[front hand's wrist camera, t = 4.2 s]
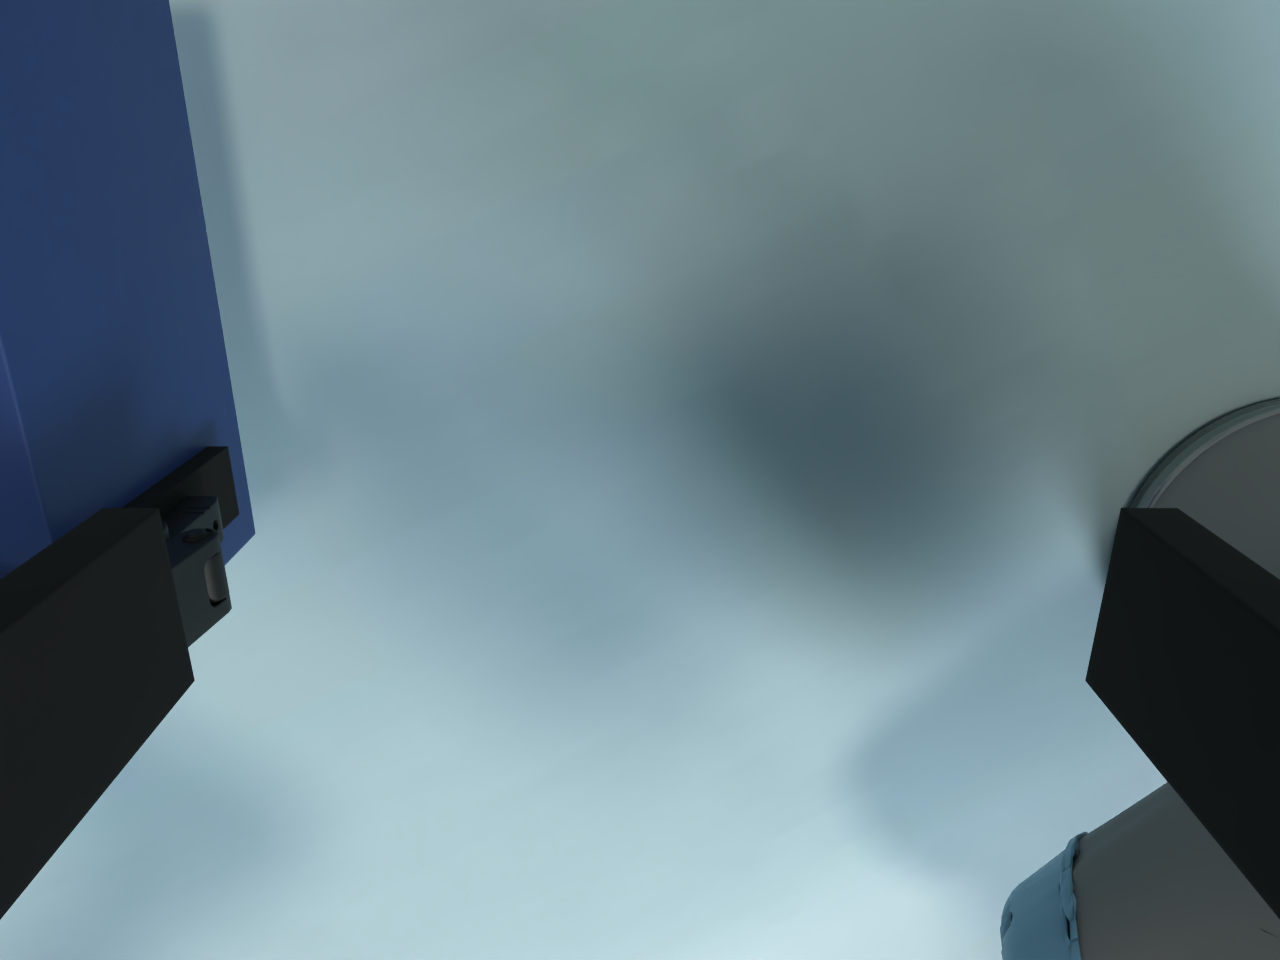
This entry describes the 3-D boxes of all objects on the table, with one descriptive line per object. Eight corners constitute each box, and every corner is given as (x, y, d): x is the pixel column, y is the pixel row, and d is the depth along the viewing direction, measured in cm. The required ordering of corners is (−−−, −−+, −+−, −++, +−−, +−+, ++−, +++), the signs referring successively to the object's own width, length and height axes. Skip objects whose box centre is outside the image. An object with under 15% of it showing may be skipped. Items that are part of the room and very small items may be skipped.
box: (-62, -38, 30) (-483, -147, 19) (163, -38, 30) (-121, -147, 19) (74, 534, 37) (-169, 705, 26) (256, 534, 37) (92, 704, 26)
